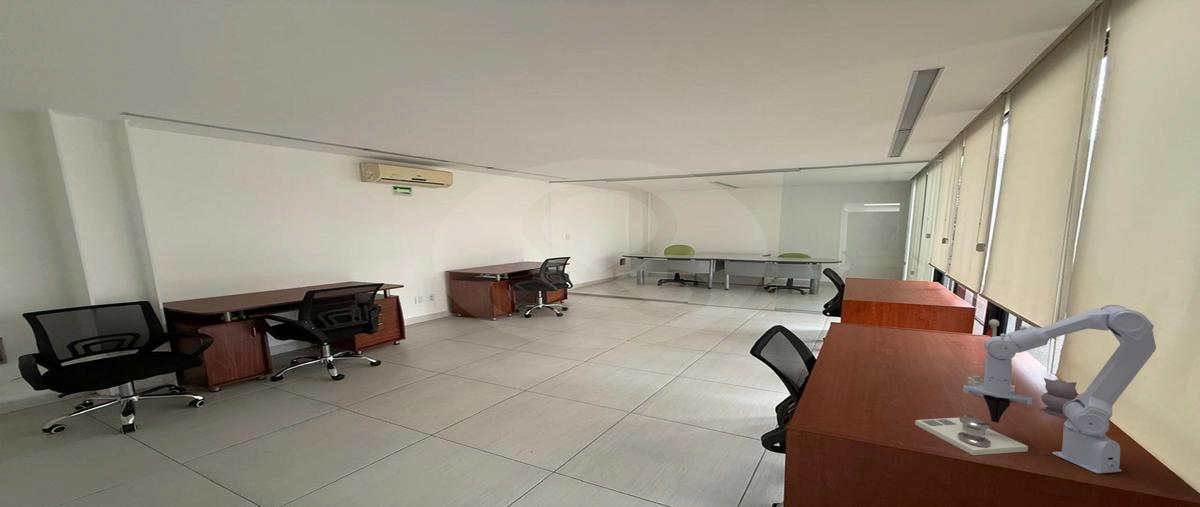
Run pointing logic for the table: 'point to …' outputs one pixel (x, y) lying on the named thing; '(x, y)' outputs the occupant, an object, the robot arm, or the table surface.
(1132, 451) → the table surface
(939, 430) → the stand
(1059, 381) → the grey wavy vase
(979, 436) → the capstan
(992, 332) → the flag stand
